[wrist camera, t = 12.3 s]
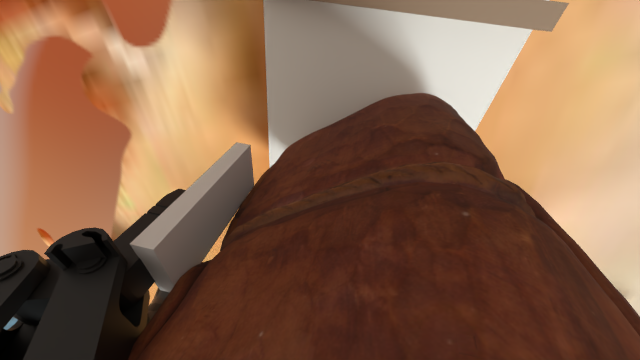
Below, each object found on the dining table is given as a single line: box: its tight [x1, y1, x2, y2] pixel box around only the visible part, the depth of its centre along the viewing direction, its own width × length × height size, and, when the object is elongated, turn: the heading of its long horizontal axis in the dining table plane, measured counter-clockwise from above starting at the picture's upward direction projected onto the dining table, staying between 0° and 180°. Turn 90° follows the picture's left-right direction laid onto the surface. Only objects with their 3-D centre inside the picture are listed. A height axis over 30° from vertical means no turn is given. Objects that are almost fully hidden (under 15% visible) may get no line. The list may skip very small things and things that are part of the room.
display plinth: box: [263, 0, 569, 167], centre depth 19 cm, size 14×18×10 cm
